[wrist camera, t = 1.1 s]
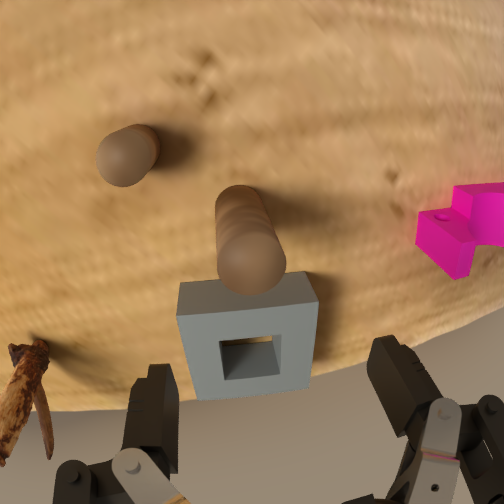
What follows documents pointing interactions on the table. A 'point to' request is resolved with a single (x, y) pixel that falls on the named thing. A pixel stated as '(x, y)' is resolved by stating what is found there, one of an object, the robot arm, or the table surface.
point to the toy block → (463, 227)
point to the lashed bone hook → (25, 397)
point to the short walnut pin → (127, 155)
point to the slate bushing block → (248, 326)
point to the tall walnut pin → (246, 243)
